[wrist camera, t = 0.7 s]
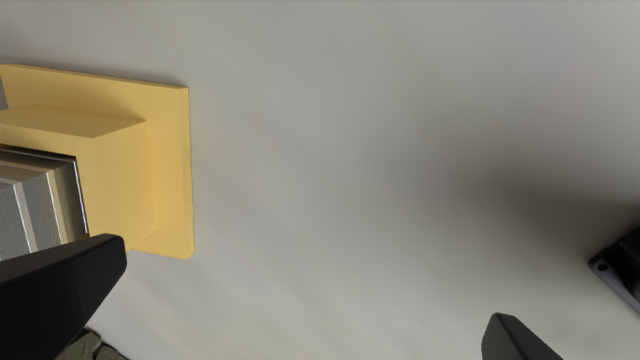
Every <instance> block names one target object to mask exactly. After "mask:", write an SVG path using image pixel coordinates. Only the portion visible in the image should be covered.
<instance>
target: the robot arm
mask: <svg viewBox="0 0 640 360" xmlns="http://www.w3.org/2000/svg"><path fill="white" fill-rule="evenodd" d="M600 264H603V265H602V266H601V267H598V266H599V265H600ZM588 265H589V267H590V269H591V270H592V271H593V272H594V273H595V274H596V275H597V276H598V277H600V278H601V279H602V280H603V281H604V282H605V283H606V284H607V285H609V286H610V287H611V288H612V289H613V290H614V291H615V292H616V293H617V294H619V295H620V296H621V297H622V298H623V299H624V300H625V301H626V302H628V303H629V304H630V305H631V306H632V307H633V308H634V309H635V310H636V311H638V312H639V313H640V227H639V228H637V229H636V230H634V231H633V232H631V233H630V234H628V235H627V236H625V237H624V238H622V239H621V240H619V241H617V242H616V243H614V244H613V245H611V246H610V247H608V248H607V249H605V250H604V251H602V252H601V253H599V254H597V255H596V256H594V257H593V258H592V259H591V260H590V261H589V263H588ZM126 267H127V258H126V250H125V242H124V239H123V237H121V236H120V235H115V234H110V233H103V234H99V235H96V236H92V237H88V238H84V239H81V240H77V241H73V242H70V243H66V244H62V245H59V246H55V247H51V248H47V249H44V250H40V251H36V252H33V253H29V254H25V255H21V256H18V257H14V258H10V259H7V260H3V261H0V360H55V359H56V358H57V357H58V355H59V354H60V353H61V352H62V351H63V350H64V349H65V348H66V346H67V345H68V344H69V343H70V342H71V341H72V340H73V338H74V337H75V336H76V335H77V334H78V333H79V332H80V330H81V329H82V328H83V327H84V326H85V324H86V323H87V322H88V321H89V319H90V318H91V317H92V315H93V314H94V313H95V311H96V310H97V309H98V307H99V306H100V305H101V303H102V302H103V301H104V299H105V298H106V296H107V295H108V294H109V292H110V291H111V290H112V288H113V287H114V286H115V284H116V283H117V282H118V280H119V279H120V278H121V276H122V275H123V273H124V272H125V270H126ZM481 350H482V358H483V360H563V359H562V358H561V357H560V356H559V355H558V354H557V353H556V352H554V351H553V350H552V349H551V348H550V347H549V346H548V345H547V344H545V343H544V342H543V341H542V340H541V339H540V338H539V337H538V336H536V335H535V334H534V333H533V332H532V331H531V330H530V329H529V328H527V327H526V326H525V325H524V324H523V323H522V322H521V321H520V320H518V319H517V318H516V317H515V316H512V315H508V314H503V313H498V312H496V313H494V314H493V315H492V316H491V318H490V321H489V323H488V326H487V328H486V331H485V334H484V336H483V339H482V344H481Z"/></svg>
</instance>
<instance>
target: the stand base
mask: <svg viewBox="0 0 640 360" xmlns="http://www.w3.org/2000/svg"><path fill="white" fill-rule="evenodd" d="M0 75H1V80H2V84H3V88H4V92H5V96H6V101H7V105H8V109H6V110H0V150H1V149H4V148H10V147H14V146H19V147H25V148H31V149H37V150H43V151H49V152H55V153H61V154H67V155H73V156H76V159H77V165H78V170H79V176H80V182H81V188H82V194H83V199H84V205H85V211H86V217H87V223H88V228H89V233H86V234H84V235H82V236H81V237H79V238H78V239H76V240H75V241H77V240H81V239H84V238H88V237H92V236H96V235H99V234H103V233H110V234H115V235H120V236H121V237H123V239H124V242H125V250H126V253H127V252H128V251H129V250H131V249H132V250H138V251H143V252H148V253H153V254H158V255H163V256H168V257H173V258H178V259H184V260H187V259H188V258H189V257H190V256H191V255H192V254H193V253H194V227H193V201H192V175H191V149H190V123H189V97H188V87H182V86H174V85H167V84H160V83H152V82H145V81H138V80H131V79H123V78H116V77H109V76H101V75H94V74H87V73H79V72H72V71H65V70H58V69H50V68H43V67H36V66H28V65H21V64H0Z"/></svg>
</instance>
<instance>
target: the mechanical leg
mask: <svg viewBox="0 0 640 360" xmlns="http://www.w3.org/2000/svg"><path fill="white" fill-rule="evenodd" d="M87 333H88V331H86V330H85V329H83V328H82V329H81V330H80V332H79V333H78V334H77V335H76V336H75V337H74V338H73V340H72V341H71V342H70V343H69V344H68V345H67V346H66V348H65V349H64V350H63V351H62V352H61V353H60V354H59V355H58V357H57V358H56V359H55V360H127V359H125V358H124V357H122V356H121V355H119V354H118V352H117V351H115V350H113V349H112V348H110V347H107V346H105V345H104V344H102V343H101V339H100V338H98V337H97V336H96V335H95V334H93V333H92V332H90V333H88V334H87Z"/></svg>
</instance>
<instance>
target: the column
mask: <svg viewBox="0 0 640 360" xmlns="http://www.w3.org/2000/svg"><path fill="white" fill-rule="evenodd" d="M86 233H89V228H88V223H87V217H86V211H85V205H84V199H83V194H82V188H81V182H80V176H79V170H78V165H77V159H76V156H73V155H67V154H61V153H55V152H49V151H43V150H37V149H31V148H25V147H19V146H14V147H10V148H4V149H1V150H0V261H3V260H7V259H10V258H14V257H18V256H21V255H25V254H29V253H33V252H36V251H40V250H44V249H47V248H51V247H55V246H59V245H62V244H66V243H70V242H73V241H75V240H76V239H78V238H79V237H81V236H82V235H84V234H86Z"/></svg>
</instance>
